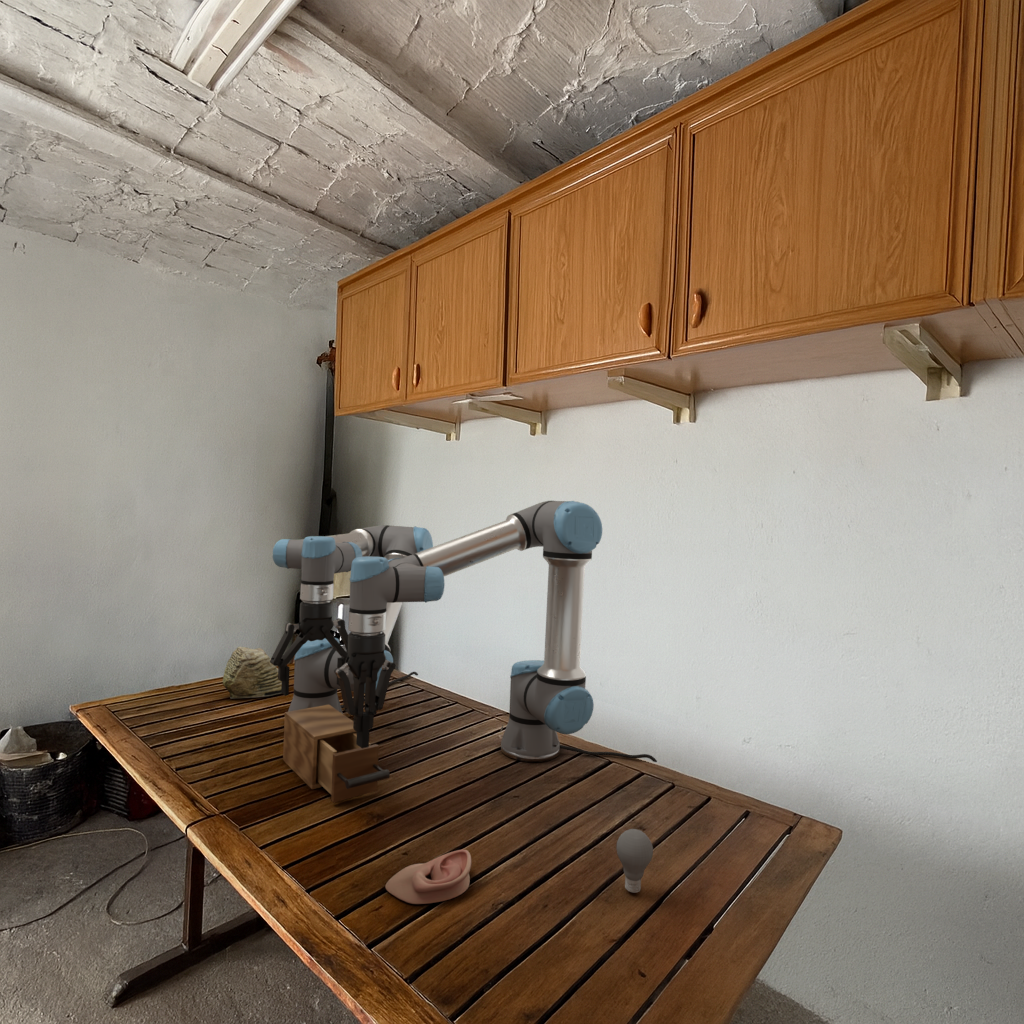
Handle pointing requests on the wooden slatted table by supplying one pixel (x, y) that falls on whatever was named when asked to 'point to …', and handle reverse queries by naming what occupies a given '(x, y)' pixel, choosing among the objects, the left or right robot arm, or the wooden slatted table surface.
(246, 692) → the fossil
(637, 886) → the light bulb
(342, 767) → the drawer
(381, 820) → the wooden slatted table surface
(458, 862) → the anatomical model
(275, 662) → the left robot arm
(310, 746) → the cabinet
